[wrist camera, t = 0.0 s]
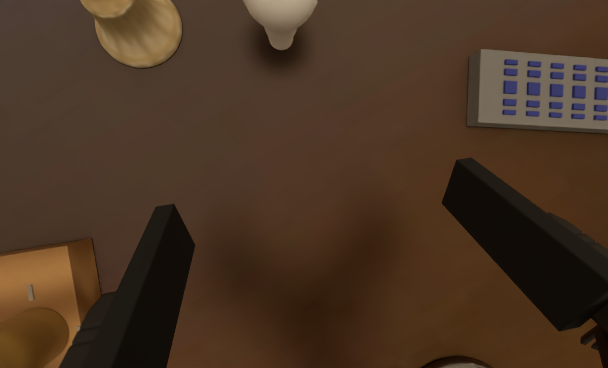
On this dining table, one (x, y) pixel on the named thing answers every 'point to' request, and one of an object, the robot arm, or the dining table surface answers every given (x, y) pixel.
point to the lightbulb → (280, 18)
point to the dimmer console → (50, 283)
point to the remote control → (537, 91)
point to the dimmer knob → (32, 339)
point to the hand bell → (137, 29)
